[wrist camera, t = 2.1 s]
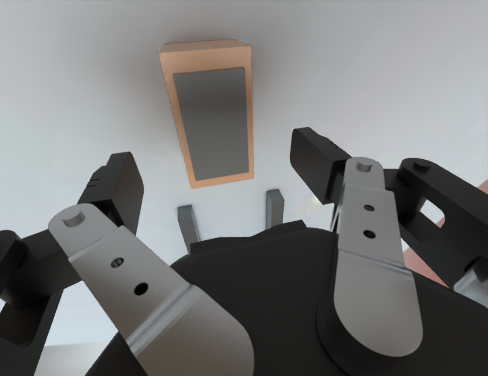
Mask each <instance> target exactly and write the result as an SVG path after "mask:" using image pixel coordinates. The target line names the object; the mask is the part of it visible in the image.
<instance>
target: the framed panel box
mask: <svg viewBox="0 0 488 376" xmlns="http://www.w3.org/2000/svg"><path fill="white" fill-rule="evenodd" d="M158 54H159V58H160V62H161V66H162V70H163V74H164V79H165V83H166V87H167V91H168V95H169V99H170V103H171V108H172V112H173V116H174V120H175V124H176V128H177V133H178V137H179V141H180V145H181V149H182V153H183V157H184V162H185V166H186V170H187V174H188V178H189V182H190V186H191V189H195V188H201V187H207V186H212V185H218V184H224V183H230V182H236V181H241V180H247V179H253V178H254V155H253V109H252V63H251V46H250V45H247V44H244V43H241V42H239V41H236V40H233V39H226V40H212V41H198V42H184V43H170V44H164V45H163V47H162V48H161V50H160V52H159V53H158Z"/></svg>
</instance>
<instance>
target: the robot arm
mask: <svg viewBox="0 0 488 376" xmlns="http://www.w3.org/2000/svg"><path fill="white" fill-rule="evenodd" d="M290 162H291V165H292V167H293V168H294V170H295V171H296V172H297V173H298V175H299V176H300V177H301V178H302V180H303V181H304V182H305V183H306V185H307V186H308V187H309V188H310V190H311V191H312V192H313V193H314V195H315V196H316V197H317V198H318V200H319V201H320V202H321V203H322V205H325V204H330V203H334V208H333V212H332V218H331V224H330V230H329V231H327V230H324V229H319V228H310V227H306V225H305V223H304V222H303V220H298V221H293V222H288V223H284V224H279V225H275V226H273V227H271V228H269V229H267V230H265V231H262V232H260V233H258V234H256V235H254V236H251V237H218V238H214V239H209V240H204V241H200V242H195V243H190V252H191V253H189V254H187V255H185V256H183V257H182V258H180V259H178V260H177V261H176V262H174V263H173V264H172V265H170V266H169V265H167V264H166V263H165V262H164V261H163V260H162V259H161V258H160V257H158V256H157V255H156V254H155V253H154V252H153V251H152V250H151V249H149V248H148V247H147V246H146V245H145V244H144V243H143V242H142V241H140V240H139V239H138V238H137V237H136V232H137V226H138V221H139V215H140V210H141V205H142V199H143V194H144V186H143V181H142V178H141V176H140V173H139V171H138V168H137V165H136V163H135V160H134V158H133V155H132V154H131V152H123V153H115V154H111V156H110V158H109V160H108V163H107V165H106V166H101V167H100V168H99V169H98V170H97V171H95V172H94V173H93V175H92V177H91V179H90V182H88V184H87V186H86V187H87V188H85V190H84V192H83V193H82V195H81V197H80V199H79V201H78V203H77V205H74V206H71V207H68V208H66V209H64V210H62V211H61V212H59V213H58V214H56V215H55V216H54V217H53V218H52V219H51V220H50V222H49V224H48V229H47V230H44V231H42V232H39V233H36V234H33V235H31V236H28V237H25V238H23V239H21V238H20V237H19V236H18V235H17V234H16V233H15V232H14V231H11V230H2V231H0V298H1V299H2V300H4V301H5V302H6V303H5V305H4V307H3V309H2V311H1V313H0V376H34V373H35V370H36V367H37V364H38V362H39V359H40V356H41V353H42V350H43V347H44V345H45V342H46V339H47V336H48V333H49V330H50V327H51V324H52V322H53V319H54V316H55V313H56V310H57V307H58V304H59V302H60V299H61V296H62V293H63V290H64V289H65V288H67V287H69V286H71V285H74V284H76V283H78V282H80V281H82V280H83V281H84V283H85V284H86V286H87V287H88V288H89V290H90V291H91V293H92V294H93V296H94V297H95V298H96V300H97V301H98V303H99V304H100V305H101V307H102V308H103V310H104V311H105V312H106V314H107V315H108V317H109V318H110V320H111V321H112V322H113V324H114V325H115V327H116V328H117V329H118V332H117V333H116V335H115V336H114V337H113V339H112V340H111V341H110V343H109V344H108V345H107V347H106V348H105V349H104V351H103V352H102V353H101V355H100V356H99V357H98V359H97V360H96V361H95V363H94V364H93V365H92V367H91V368H90V369H89V371H88V372H87V373H86V375H85V376H488V194H486V193H485V192H483V191H481V190H479V189H478V188H476V187H474V186H473V185H471V184H469V183H468V182H466V181H464V180H463V179H461V178H459V177H457V176H456V175H454V174H452V173H451V172H449V171H447V170H446V169H444V168H442V167H440V166H439V165H437V164H435V163H433V162H431V161H428V160H425V159H420V158H407V159H404V160H403V161H402V162H401V165H400V167H399V169H383V167H382V165H381V164H380V163H379V162H377V161H375V160H373V159H370V158H365V157H351V156H350V155H349V154H348V153H346V152H345V151H344V150H342V149H341V148H339V147H338V146H337V145H336V144H334V143H333V142H332V141H331V140H329V139H328V138H326V137H323V136H321V135H319V134H317V133H316V132H315V131H313V130H312V129H311V128H310V127H305V128H297V129H294V130H293V132H292V140H291V150H290ZM427 199H428V200H429V201H430V202H431V203H433V204H434V205H435V206H437V207H438V208H439V209H440V210H442V212H443V213H444V215H445V222H444V224H443V225H442V227H441V228H439V227H438V226H437V225H436V224H434V223H433V222H432V221H431V220H430V219H429V218H427V217H426V216H425V215H424V214H423V213H421V212H420V210H421V208H422V206H423V205H424V203H425V201H426V200H427ZM401 238H402V239H403V240H404V241H405V242H406V243H407V244H408V245H409V246H410V247H411V248H412V249H413V250H414V251H415V253H416V254H417V255H418V256H419V257H420V258H421V259H422V260H423V261H424V262H425V263H426V264H427V265H428V266H429V267H430V268H431V269H432V270H433V271H434V272H435V273H436V274H437V275H438V277H440V279H441V280H442V281H443V282H444V283H445V284H446V285H447V286H448V287H449V288H450V289H449V288H447V287H445V286H443V285H441V284H439V283H437V282H435V281H433V280H431V279H429V278H427V277H425V276H423V275H421V274H419V273H416V272H414V271H412V270H410V269H408V268H406V266H405V263H404V257H403V250H402V244H401Z"/></svg>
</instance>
